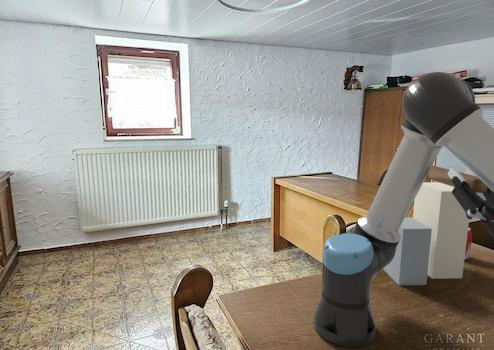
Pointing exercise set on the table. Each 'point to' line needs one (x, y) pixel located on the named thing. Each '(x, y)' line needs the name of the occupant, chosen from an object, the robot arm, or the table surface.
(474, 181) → the brown wooden beam
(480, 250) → the table surface
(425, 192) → the tall cream rectangular block
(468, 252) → the soda can
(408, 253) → the tall pale gray pillar
